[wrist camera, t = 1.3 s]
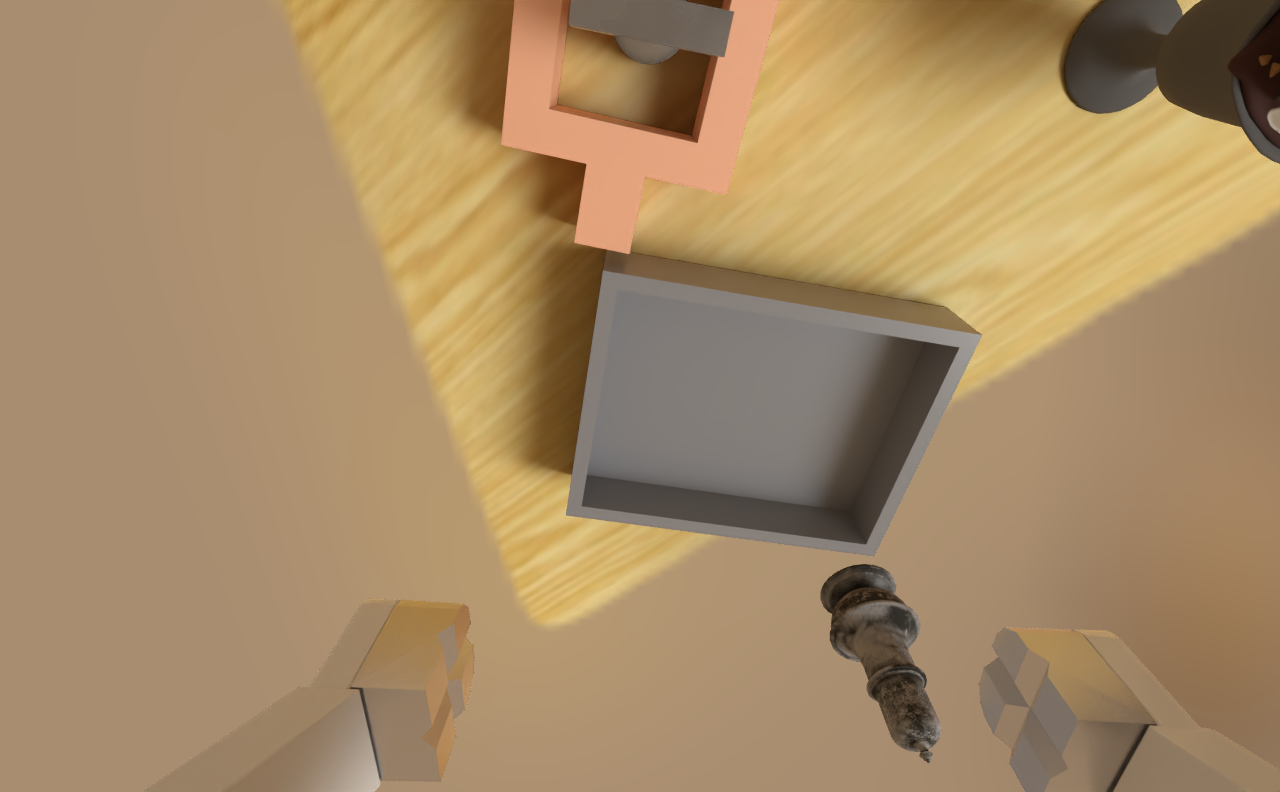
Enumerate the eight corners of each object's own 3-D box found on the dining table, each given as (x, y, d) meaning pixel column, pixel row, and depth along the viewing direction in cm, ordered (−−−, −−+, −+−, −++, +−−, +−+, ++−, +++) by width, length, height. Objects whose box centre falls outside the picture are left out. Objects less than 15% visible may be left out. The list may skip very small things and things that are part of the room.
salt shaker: (811, 620, 44) (865, 793, 34) (822, 561, 42) (884, 729, 31) (890, 619, 44) (969, 792, 34) (907, 560, 42) (999, 728, 31)
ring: (541, -133, 24) (529, -157, 21) (784, -67, 25) (801, -82, 22) (505, 211, 30) (493, 225, 27) (700, 252, 31) (706, 269, 28)
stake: (595, -12, 26) (576, -49, 17) (705, 11, 26) (739, -13, 18) (588, 52, 27) (565, 47, 18) (693, 73, 27) (719, 79, 19)
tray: (606, 248, 31) (603, 270, 28) (947, 307, 33) (982, 335, 29) (572, 475, 38) (565, 515, 35) (854, 514, 40) (874, 556, 36)
